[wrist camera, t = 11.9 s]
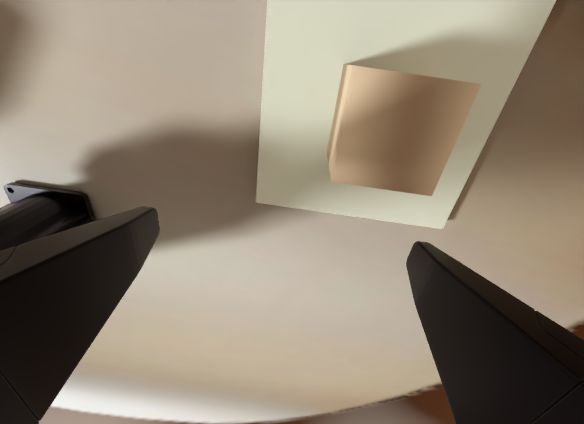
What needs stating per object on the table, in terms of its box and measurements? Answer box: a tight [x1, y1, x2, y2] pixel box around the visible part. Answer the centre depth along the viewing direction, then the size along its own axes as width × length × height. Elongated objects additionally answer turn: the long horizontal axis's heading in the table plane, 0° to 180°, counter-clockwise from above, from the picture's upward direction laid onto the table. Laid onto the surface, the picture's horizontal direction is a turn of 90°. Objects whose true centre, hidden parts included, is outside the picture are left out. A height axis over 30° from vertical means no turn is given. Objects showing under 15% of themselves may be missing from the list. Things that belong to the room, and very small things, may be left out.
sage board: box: [256, 0, 556, 229], centre depth 16 cm, size 14×14×1 cm
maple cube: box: [326, 64, 481, 196], centre depth 14 cm, size 5×5×5 cm
